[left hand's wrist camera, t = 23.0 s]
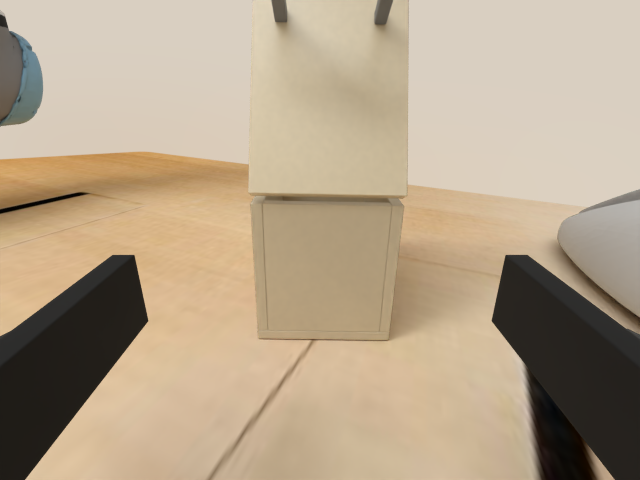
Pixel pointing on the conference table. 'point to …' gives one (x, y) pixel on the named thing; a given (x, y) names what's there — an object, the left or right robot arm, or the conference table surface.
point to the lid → (329, 98)
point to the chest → (325, 266)
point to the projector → (608, 246)
